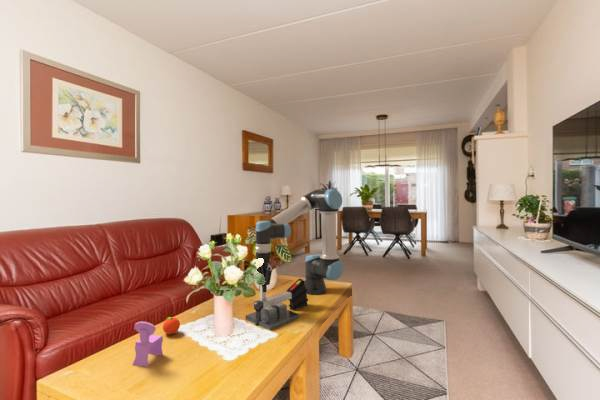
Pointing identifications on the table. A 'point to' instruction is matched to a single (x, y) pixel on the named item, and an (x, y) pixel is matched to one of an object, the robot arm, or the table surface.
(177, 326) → the tomato
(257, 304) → the swing arm
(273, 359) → the table surface
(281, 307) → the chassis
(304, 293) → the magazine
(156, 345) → the toy chair
